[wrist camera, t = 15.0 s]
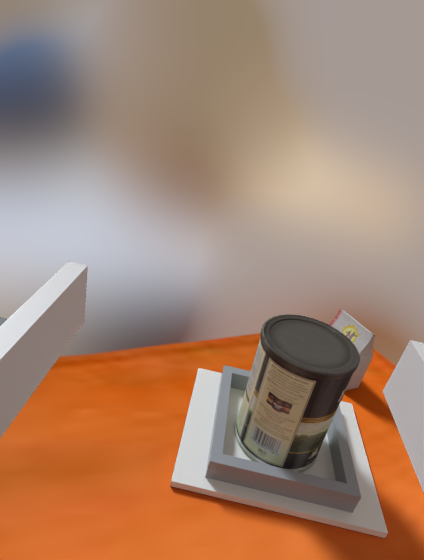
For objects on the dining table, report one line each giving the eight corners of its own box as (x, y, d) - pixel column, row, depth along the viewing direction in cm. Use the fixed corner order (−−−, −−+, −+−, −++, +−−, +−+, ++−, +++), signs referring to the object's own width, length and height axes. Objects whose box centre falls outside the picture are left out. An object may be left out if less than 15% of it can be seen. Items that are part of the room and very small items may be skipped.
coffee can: (313, 414, 51) (349, 325, 45) (323, 484, 42) (371, 384, 36) (236, 396, 52) (262, 305, 46) (230, 462, 42) (261, 359, 36)
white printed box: (329, 359, 65) (350, 308, 60) (358, 387, 60) (383, 334, 55) (312, 362, 63) (332, 310, 59) (340, 391, 58) (364, 336, 54)
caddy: (170, 486, 40) (174, 464, 38) (197, 372, 56) (201, 353, 54) (385, 538, 39) (398, 518, 38) (349, 407, 55) (358, 390, 54)
